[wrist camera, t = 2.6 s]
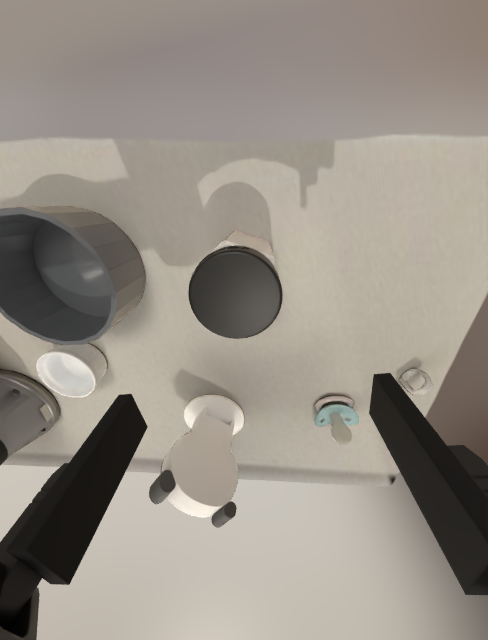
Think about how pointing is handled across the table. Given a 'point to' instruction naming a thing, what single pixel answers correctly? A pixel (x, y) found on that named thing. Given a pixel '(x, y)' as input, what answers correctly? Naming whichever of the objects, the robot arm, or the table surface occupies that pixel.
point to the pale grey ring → (424, 388)
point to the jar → (236, 287)
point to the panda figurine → (203, 461)
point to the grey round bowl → (66, 273)
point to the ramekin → (72, 369)
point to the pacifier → (337, 417)
